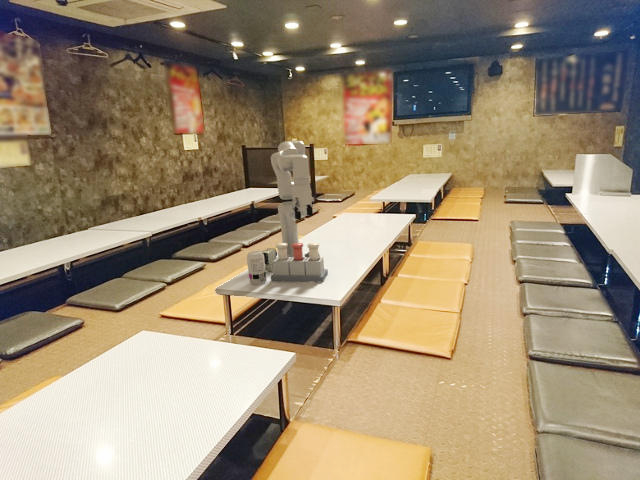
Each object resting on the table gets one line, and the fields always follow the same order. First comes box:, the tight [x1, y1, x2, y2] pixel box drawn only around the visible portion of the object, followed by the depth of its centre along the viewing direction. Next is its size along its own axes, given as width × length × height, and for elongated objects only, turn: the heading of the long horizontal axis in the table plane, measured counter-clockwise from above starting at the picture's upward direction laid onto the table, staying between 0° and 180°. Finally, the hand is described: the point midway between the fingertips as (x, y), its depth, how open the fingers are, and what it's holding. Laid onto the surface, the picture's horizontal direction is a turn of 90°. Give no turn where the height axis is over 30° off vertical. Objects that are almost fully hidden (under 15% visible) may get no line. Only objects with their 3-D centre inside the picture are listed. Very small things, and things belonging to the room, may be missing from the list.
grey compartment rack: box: [270, 256, 329, 283], centre depth 208 cm, size 12×26×10 cm, turn 78°
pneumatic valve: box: [261, 247, 278, 272], centre depth 223 cm, size 6×12×12 cm, turn 156°
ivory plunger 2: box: [307, 242, 320, 261], centre depth 205 cm, size 6×6×8 cm
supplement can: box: [246, 250, 267, 286], centre depth 204 cm, size 8×8×15 cm
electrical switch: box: [304, 251, 321, 257], centre depth 225 cm, size 9×5×9 cm, turn 152°
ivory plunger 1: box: [275, 242, 287, 261], centre depth 208 cm, size 6×6×8 cm
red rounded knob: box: [292, 242, 304, 261], centre depth 206 cm, size 6×6×8 cm
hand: (304, 217), depth 205 cm, fingers open, 9 cm apart
